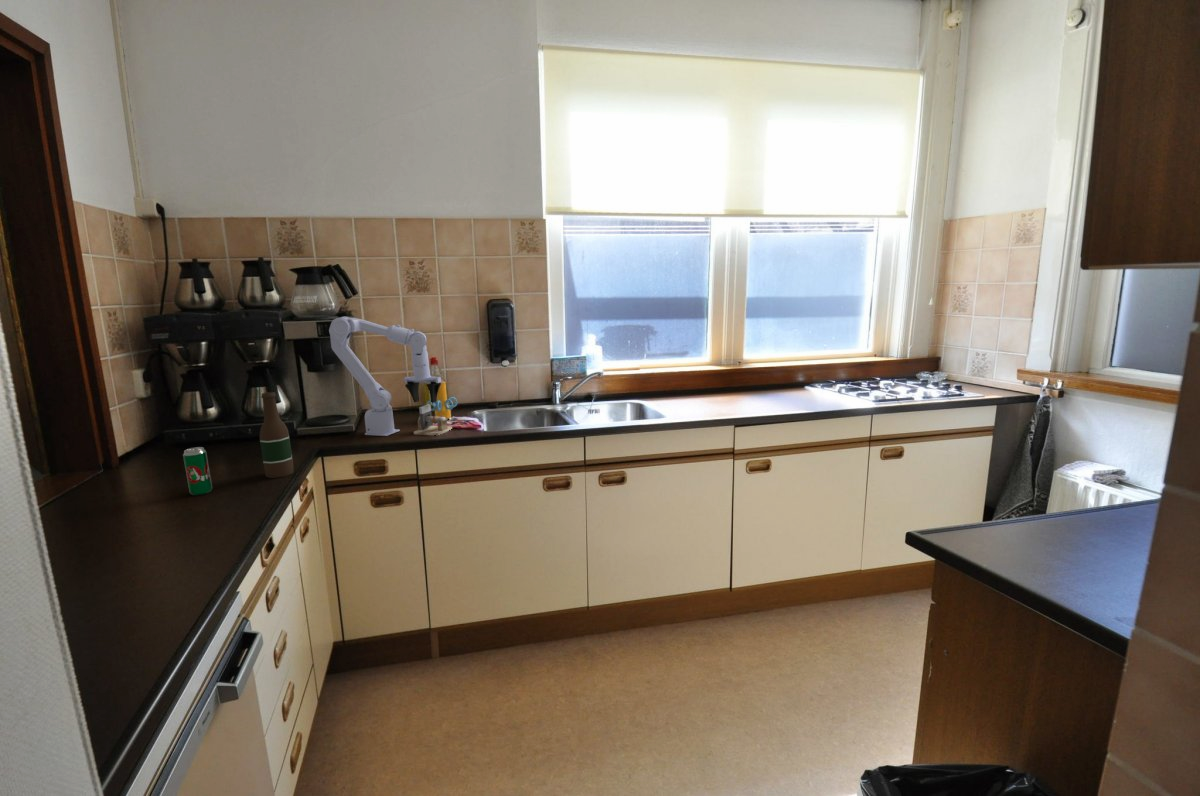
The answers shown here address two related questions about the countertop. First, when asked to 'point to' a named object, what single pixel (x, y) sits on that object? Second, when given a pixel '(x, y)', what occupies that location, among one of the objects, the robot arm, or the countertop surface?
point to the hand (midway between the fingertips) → (425, 402)
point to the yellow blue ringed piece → (443, 403)
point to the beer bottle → (274, 441)
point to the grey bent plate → (423, 412)
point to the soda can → (197, 471)
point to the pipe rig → (433, 430)
